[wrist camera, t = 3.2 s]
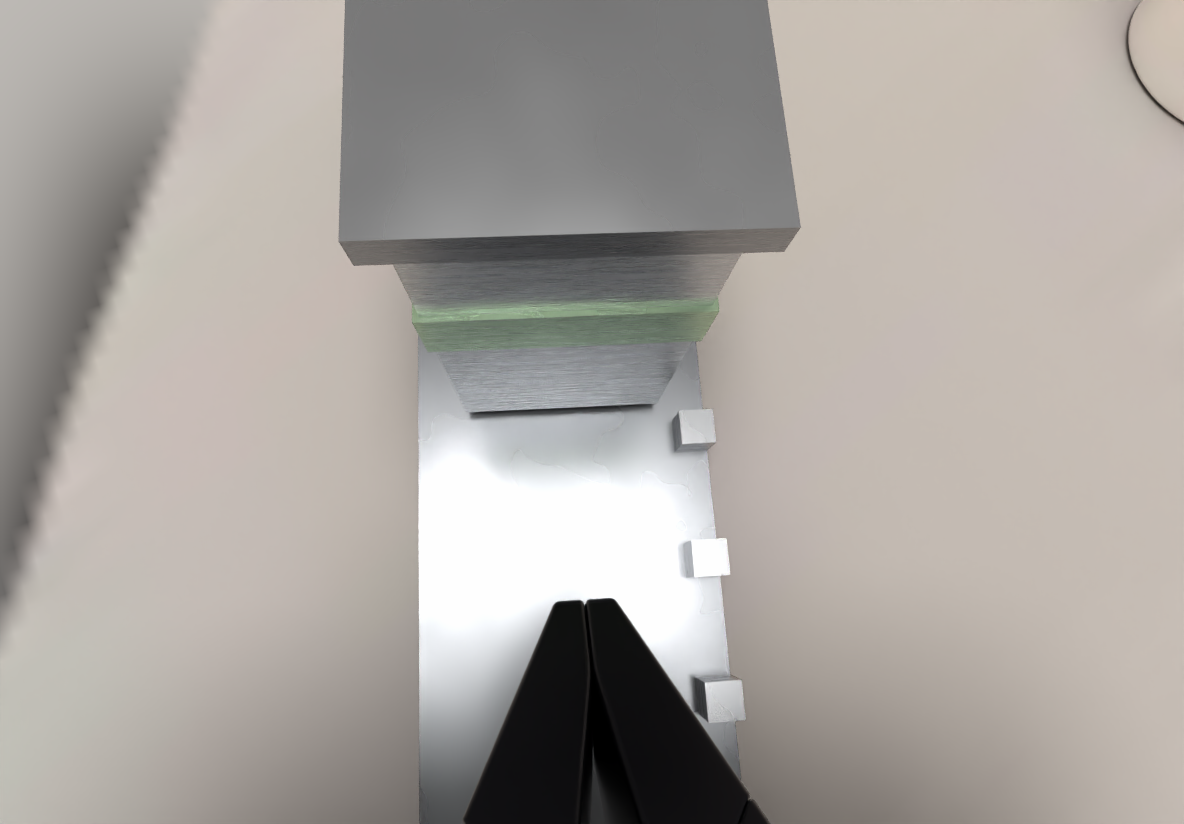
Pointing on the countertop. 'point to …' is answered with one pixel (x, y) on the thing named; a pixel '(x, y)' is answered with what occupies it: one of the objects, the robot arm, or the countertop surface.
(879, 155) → the countertop surface
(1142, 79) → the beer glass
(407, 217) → the column
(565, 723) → the robot arm
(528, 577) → the track
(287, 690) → the countertop surface
